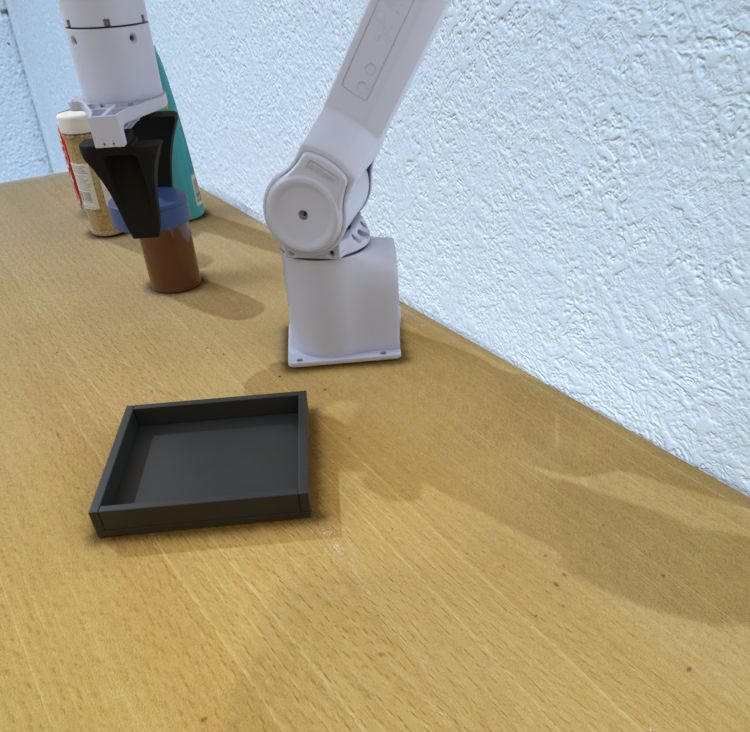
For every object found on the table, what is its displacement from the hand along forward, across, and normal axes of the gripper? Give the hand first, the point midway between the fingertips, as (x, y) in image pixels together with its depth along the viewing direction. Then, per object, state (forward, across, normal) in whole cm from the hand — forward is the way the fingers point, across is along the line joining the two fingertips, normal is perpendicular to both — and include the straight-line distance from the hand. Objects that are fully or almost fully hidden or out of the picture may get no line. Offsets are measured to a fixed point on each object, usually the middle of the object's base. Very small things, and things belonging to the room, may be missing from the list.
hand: (153, 222), depth 57 cm
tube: (+10, -36, -4) cm, 37 cm away
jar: (+10, -13, -2) cm, 17 cm away
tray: (+10, +21, +5) cm, 24 cm away
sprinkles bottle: (+11, -32, -13) cm, 36 cm away
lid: (-2, 0, 0) cm, 2 cm away
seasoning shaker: (+11, -41, -15) cm, 45 cm away
